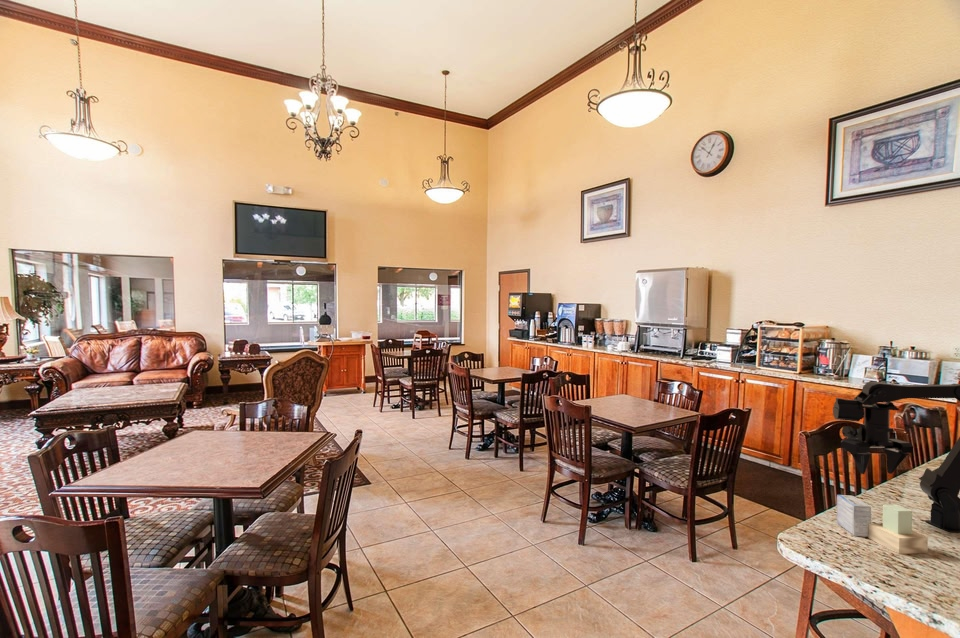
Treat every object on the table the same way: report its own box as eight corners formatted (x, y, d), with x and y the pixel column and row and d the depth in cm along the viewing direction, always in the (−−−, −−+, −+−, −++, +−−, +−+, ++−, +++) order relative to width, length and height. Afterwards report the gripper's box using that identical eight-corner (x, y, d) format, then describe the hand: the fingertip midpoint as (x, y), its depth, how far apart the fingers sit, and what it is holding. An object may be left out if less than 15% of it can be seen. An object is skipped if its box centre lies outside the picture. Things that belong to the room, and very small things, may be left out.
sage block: (896, 526, 118) (896, 504, 118) (911, 533, 114) (912, 510, 114) (882, 526, 117) (882, 504, 118) (897, 534, 113) (898, 511, 114)
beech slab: (895, 537, 120) (895, 523, 120) (927, 552, 112) (927, 537, 112) (868, 538, 119) (868, 523, 119) (899, 553, 111) (899, 538, 111)
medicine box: (871, 538, 119) (872, 506, 119) (853, 536, 120) (853, 505, 120) (853, 524, 127) (853, 495, 127) (836, 523, 128) (836, 494, 128)
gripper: (878, 417, 142) (877, 464, 142) (825, 417, 141) (824, 465, 141) (915, 425, 131) (914, 476, 131) (858, 425, 130) (857, 477, 130)
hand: (876, 473), depth 133 cm, fingers open, 9 cm apart
